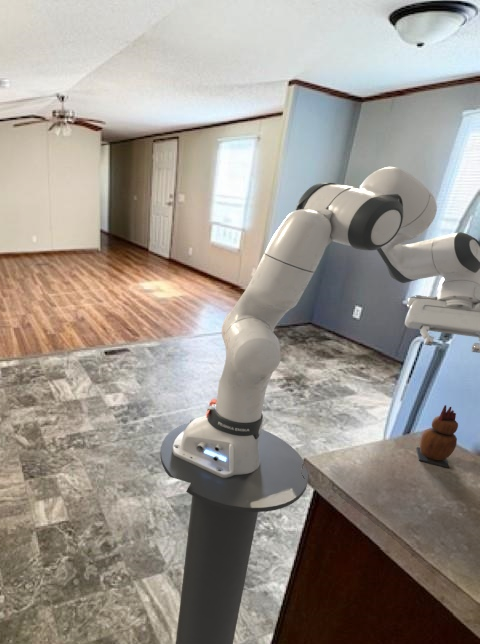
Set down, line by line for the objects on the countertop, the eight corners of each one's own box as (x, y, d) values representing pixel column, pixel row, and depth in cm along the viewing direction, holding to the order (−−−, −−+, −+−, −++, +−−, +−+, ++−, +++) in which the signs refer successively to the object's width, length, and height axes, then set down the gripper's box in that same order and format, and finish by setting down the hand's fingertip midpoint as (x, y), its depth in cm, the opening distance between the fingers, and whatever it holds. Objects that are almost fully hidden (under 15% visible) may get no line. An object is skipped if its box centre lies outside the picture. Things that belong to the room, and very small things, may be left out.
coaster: (418, 460, 106) (419, 459, 106) (416, 448, 111) (416, 447, 111) (448, 468, 103) (449, 466, 103) (444, 455, 108) (445, 453, 108)
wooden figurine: (420, 460, 105) (441, 408, 99) (412, 447, 110) (431, 397, 104) (452, 466, 103) (475, 413, 98) (442, 452, 109) (463, 401, 103)
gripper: (411, 288, 109) (404, 334, 105) (515, 298, 100) (512, 350, 96) (405, 300, 115) (398, 345, 111) (503, 311, 105) (499, 361, 101)
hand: (452, 347), depth 103 cm, fingers open, 8 cm apart
